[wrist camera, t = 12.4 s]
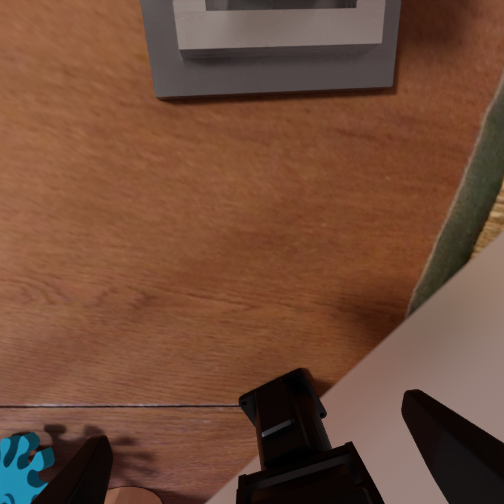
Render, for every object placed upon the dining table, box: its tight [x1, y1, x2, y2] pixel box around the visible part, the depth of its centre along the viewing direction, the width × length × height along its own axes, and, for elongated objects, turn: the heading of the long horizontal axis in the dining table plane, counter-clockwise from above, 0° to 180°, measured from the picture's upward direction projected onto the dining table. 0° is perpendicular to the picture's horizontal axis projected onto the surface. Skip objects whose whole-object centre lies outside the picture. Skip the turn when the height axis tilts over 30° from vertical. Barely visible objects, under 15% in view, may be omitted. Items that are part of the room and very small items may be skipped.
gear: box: [0, 432, 55, 504], centre depth 23 cm, size 11×6×10 cm
